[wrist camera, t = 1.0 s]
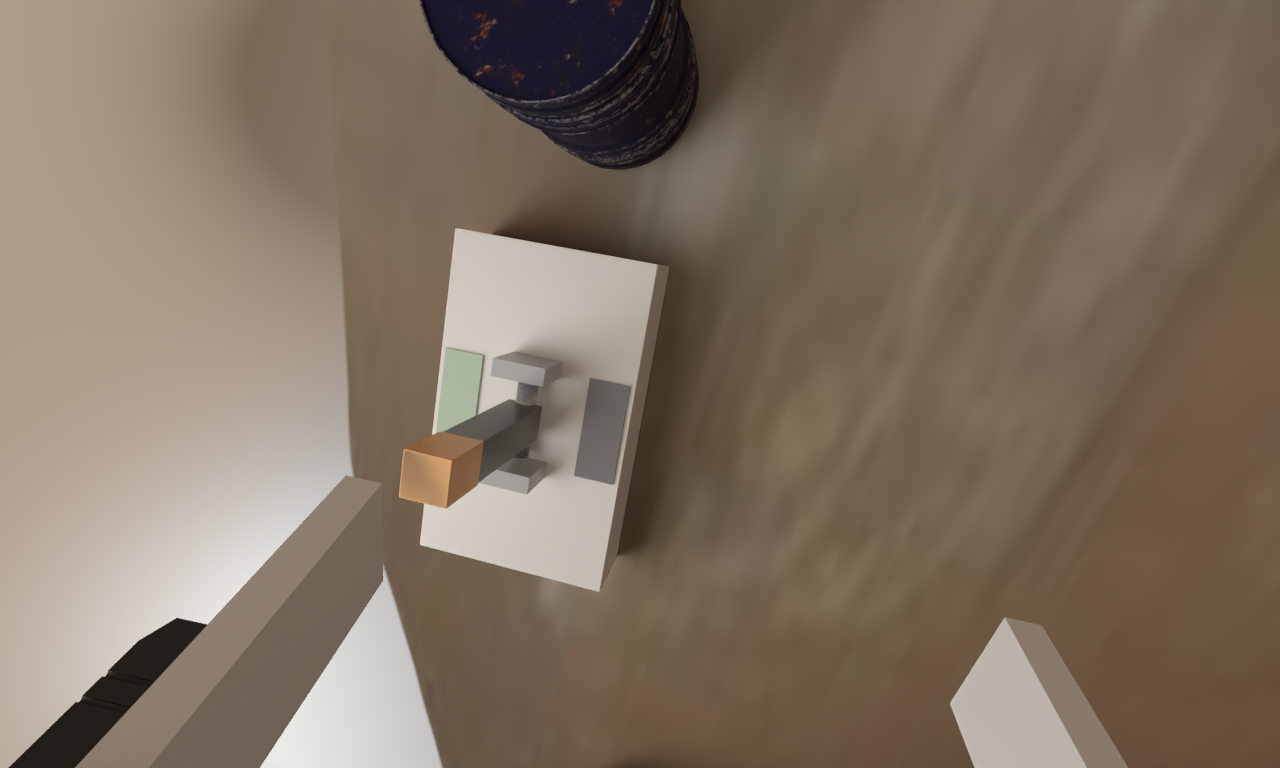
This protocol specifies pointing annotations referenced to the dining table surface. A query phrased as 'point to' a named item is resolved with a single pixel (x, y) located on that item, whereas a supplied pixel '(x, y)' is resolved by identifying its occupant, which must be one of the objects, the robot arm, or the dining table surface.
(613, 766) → the dining table surface
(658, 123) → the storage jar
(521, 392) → the switch lever
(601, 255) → the switch box
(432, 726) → the dining table surface
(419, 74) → the dining table surface
